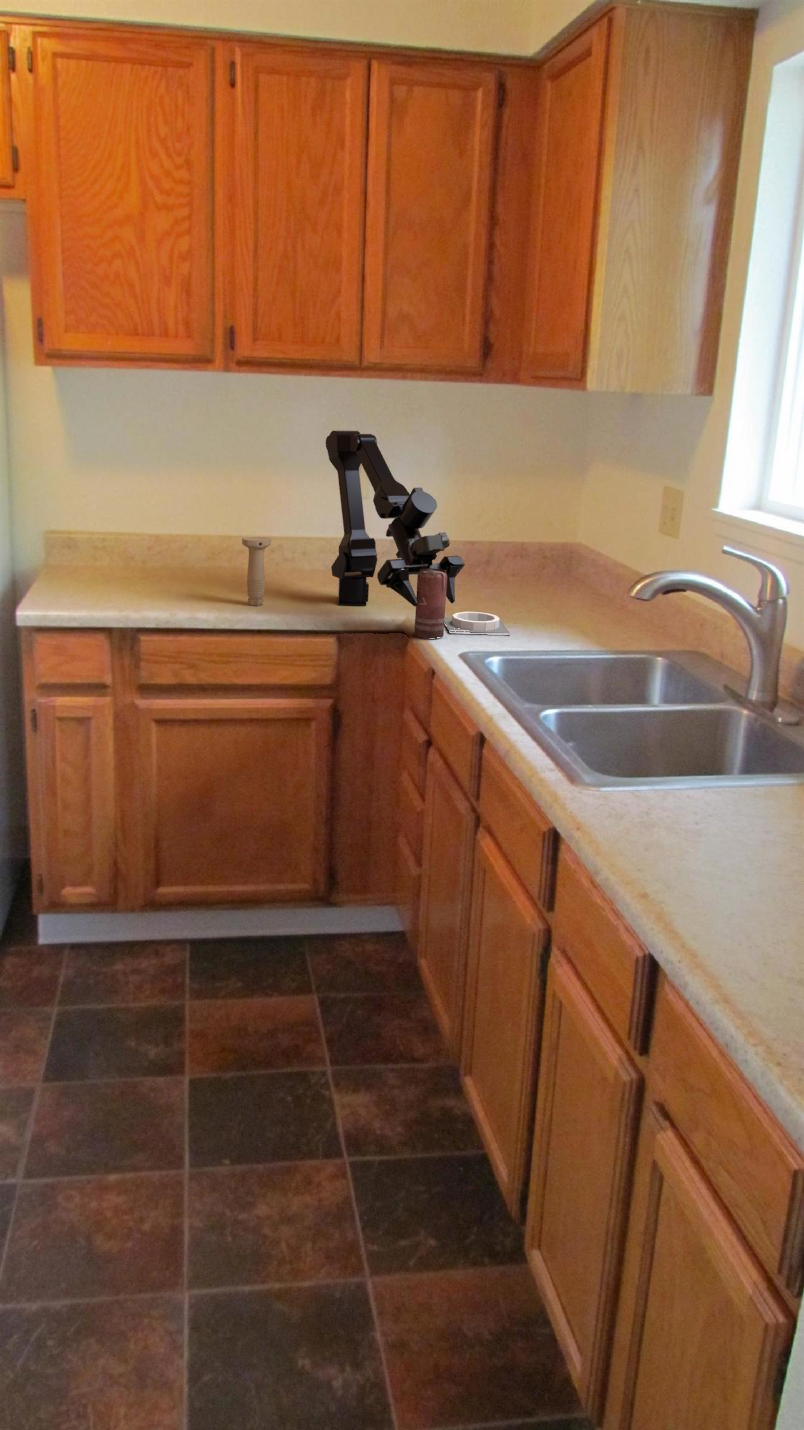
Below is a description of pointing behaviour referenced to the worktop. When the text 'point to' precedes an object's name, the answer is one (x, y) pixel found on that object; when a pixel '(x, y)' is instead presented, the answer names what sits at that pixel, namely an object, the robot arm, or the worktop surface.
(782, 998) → the worktop surface
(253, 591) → the handle
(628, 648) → the worktop surface
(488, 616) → the square base with ring
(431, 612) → the can
